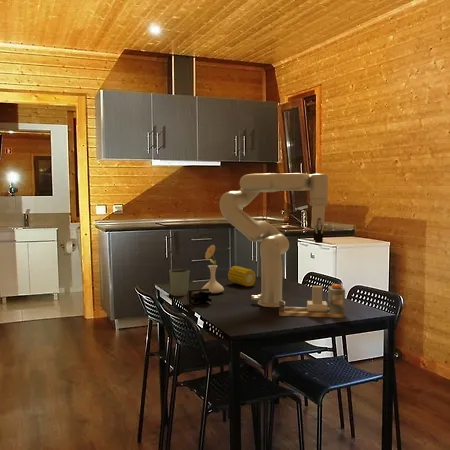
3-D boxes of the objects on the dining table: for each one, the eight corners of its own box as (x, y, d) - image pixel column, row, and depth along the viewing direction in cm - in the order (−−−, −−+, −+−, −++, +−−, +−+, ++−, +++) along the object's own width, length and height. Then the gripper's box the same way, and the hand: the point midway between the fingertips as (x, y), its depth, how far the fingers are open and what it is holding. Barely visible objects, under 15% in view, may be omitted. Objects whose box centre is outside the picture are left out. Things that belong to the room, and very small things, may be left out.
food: (258, 286, 279) (258, 268, 278) (239, 288, 274) (239, 269, 273) (244, 281, 293) (244, 264, 292) (225, 283, 287) (225, 265, 286)
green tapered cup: (166, 295, 255) (166, 271, 254) (173, 291, 265) (173, 268, 264) (185, 296, 253) (185, 272, 252) (192, 292, 263) (192, 269, 262)
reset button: (332, 288, 215) (332, 285, 215) (331, 286, 219) (331, 284, 219) (342, 288, 215) (342, 286, 215) (340, 287, 219) (340, 284, 219)
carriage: (307, 311, 216) (308, 287, 215) (307, 307, 223) (307, 284, 222) (327, 312, 215) (327, 288, 214) (325, 308, 222) (326, 285, 221)
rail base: (279, 315, 216) (279, 288, 215) (279, 311, 224) (279, 284, 224) (344, 317, 213) (345, 290, 212) (342, 312, 222) (342, 286, 221)
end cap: (206, 301, 243) (206, 287, 242) (212, 304, 236) (212, 290, 236) (186, 303, 238) (186, 289, 238) (192, 306, 232) (192, 292, 231)
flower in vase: (201, 290, 268) (201, 242, 266) (223, 290, 269) (223, 242, 267) (202, 295, 255) (202, 245, 253) (225, 295, 256) (225, 245, 254)
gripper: (308, 201, 232) (308, 239, 233) (311, 202, 215) (310, 243, 216) (325, 201, 231) (324, 239, 233) (329, 203, 214) (328, 243, 215)
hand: (317, 241), depth 224 cm, fingers open, 9 cm apart
